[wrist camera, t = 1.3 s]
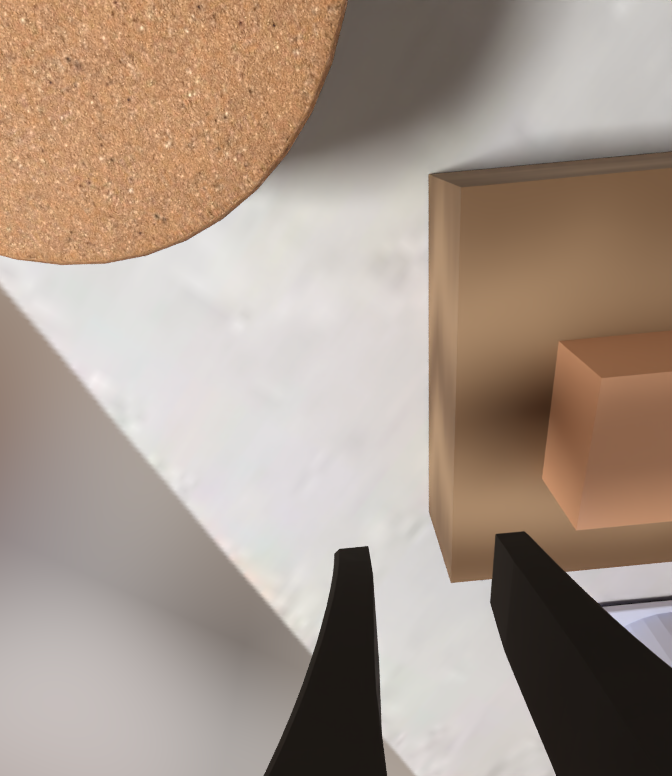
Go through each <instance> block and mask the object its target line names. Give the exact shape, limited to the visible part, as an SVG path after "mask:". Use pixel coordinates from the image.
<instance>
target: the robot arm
mask: <svg viewBox="0 0 672 776" xmlns="http://www.w3.org/2000/svg"><path fill="white" fill-rule="evenodd" d="M490 603H491V607H492V610H493V614H494V617H495V621H496V624H497V628H498V631H499V634H500V638H501V641H502V644H503V647H504V651H505V653H506V656H507V658H508V661H509V663H510V666H511V668H512V671H513V673H514V675H515V678H516V680H517V683H518V685H519V687H520V690H521V692H522V695H523V697H524V699H525V702H526V704H527V707H528V709H529V711H530V714H531V716H532V719H533V721H534V723H535V726H536V728H537V730H538V733H539V735H540V738H541V740H542V742H543V745H544V747H545V750H546V752H547V754H548V757H549V759H550V761H551V764H552V766H553V769H554V771H555V774H556V776H672V600H669V601H658V602H648V603H638V604H627V605H617V606H607V607H601V606H600V605H599V604H598V603H597V602H596V601H595V600H594V599H593V598H592V597H591V596H590V595H588V594H587V593H586V592H585V591H584V590H583V589H582V588H581V587H580V586H579V585H578V584H577V583H576V582H575V581H574V580H573V579H572V578H571V577H570V576H569V575H568V574H567V573H566V572H565V571H564V570H563V569H562V568H561V567H560V566H559V565H558V564H557V563H556V562H555V561H554V560H553V559H552V558H551V557H550V556H549V555H548V554H547V553H546V552H545V551H544V550H543V549H542V548H541V547H540V546H539V545H538V544H537V543H536V542H535V541H534V540H533V539H532V538H531V537H530V536H529V535H528V534H527V533H526V532H525V531H521V532H510V533H500V534H495V546H494V560H493V573H492V586H491V599H490ZM264 776H387V771H386V763H385V756H384V748H383V740H382V727H381V700H380V674H379V655H378V641H377V626H376V612H375V597H374V583H373V572H372V566H371V560H370V554H369V548H368V546H365V547H355V548H344V549H339V550H338V551H337V552H336V553H335V554H334V569H333V577H332V583H331V589H330V593H329V598H328V602H327V607H326V611H325V614H324V618H323V622H322V625H321V629H320V633H319V636H318V640H317V643H316V646H315V649H314V652H313V655H312V658H311V662H310V664H309V667H308V670H307V673H306V676H305V679H304V682H303V685H302V687H301V690H300V693H299V695H298V698H297V700H296V703H295V706H294V708H293V711H292V713H291V716H290V718H289V720H288V723H287V725H286V728H285V730H284V732H283V735H282V737H281V739H280V742H279V744H278V746H277V748H276V750H275V752H274V755H273V757H272V759H271V761H270V763H269V765H268V768H267V770H266V772H265V774H264Z"/></svg>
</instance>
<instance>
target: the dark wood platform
mask: <svg viewBox="0 0 672 776" xmlns="http://www.w3.org/2000/svg"><path fill="white" fill-rule="evenodd" d="M670 330H672V152H661V153H651V154H640V155H629V156H619V157H608V158H597V159H587V160H576V161H565V162H555V163H544V164H533V165H523V166H512V167H501V168H491V169H480V170H469V171H459V172H448V173H437V174H429V513H430V517H431V520H432V523H433V526H434V530H435V533H436V536H437V539H438V542H439V546H440V549H441V552H442V555H443V559H444V562H445V565H446V568H447V571H448V575H449V578H450V581H451V583H455V582H465V581H476V580H486V579H492V573H493V560H494V546H495V534H500V533H510V532H521V531H525V532H526V533H527V534H528V535H529V536H530V537H531V538H532V539H533V540H534V541H535V542H536V543H537V544H538V545H539V546H540V547H541V548H542V549H543V550H544V551H545V552H546V553H547V554H548V555H549V556H550V557H551V558H552V559H553V560H554V561H555V562H556V563H557V564H558V565H559V566H560V567H561V568H562V569H563V570H564V571H565V572H569V571H579V570H590V569H600V568H610V567H621V566H631V565H641V564H652V563H662V562H672V521H669V522H659V523H649V524H638V525H628V526H618V527H607V528H597V529H586V530H575V528H574V527H573V525H572V523H571V522H570V520H569V519H568V517H567V516H566V514H565V513H564V511H563V510H562V508H561V507H560V505H559V504H558V502H557V501H556V499H555V498H554V496H553V495H552V493H551V492H550V490H549V489H548V487H547V486H546V484H545V483H544V481H543V480H542V475H543V466H544V458H545V450H546V442H547V434H548V425H549V417H550V409H551V401H552V392H553V384H554V376H555V368H556V360H557V351H558V343H559V341H565V340H576V339H586V338H597V337H607V336H618V335H628V334H639V333H649V332H660V331H670Z"/></svg>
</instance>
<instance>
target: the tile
mask: <svg viewBox="0 0 672 776" xmlns="http://www.w3.org/2000/svg"><path fill="white" fill-rule="evenodd" d="M542 480H543V481H544V483H545V484H546V486H547V487H548V489H549V490H550V492H551V493H552V495H553V496H554V498H555V499H556V501H557V502H558V504H559V505H560V507H561V508H562V510H563V511H564V513H565V514H566V516H567V517H568V519H569V520H570V522H571V523H572V525H573V527H574V528H575V530H586V529H597V528H607V527H618V526H628V525H638V524H649V523H659V522H669V521H672V330H670V331H660V332H649V333H639V334H628V335H618V336H607V337H597V338H586V339H576V340H565V341H559V343H558V351H557V360H556V368H555V376H554V384H553V392H552V401H551V409H550V417H549V425H548V434H547V442H546V450H545V458H544V466H543V475H542Z"/></svg>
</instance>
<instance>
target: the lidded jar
mask: <svg viewBox="0 0 672 776" xmlns="http://www.w3.org/2000/svg"><path fill="white" fill-rule="evenodd" d="M347 2H348V0H0V255H1V256H5V257H9V258H13V259H17V260H25V261H34V262H42V263H50V264H58V265H72V264H105V263H110V262H115V261H121V260H126V259H131V258H136V257H141V256H146V255H149V254H152V253H154V252H157V251H160V250H162V249H165V248H168V247H170V246H173V245H176V244H178V243H181V242H184V241H186V240H188V239H190V238H191V237H193V236H195V235H196V234H198V233H200V232H202V231H203V230H205V229H207V228H208V227H210V226H212V225H213V224H215V223H217V222H218V221H220V220H222V219H223V218H224V217H226V216H227V215H228V214H229V213H230V212H231V211H233V210H234V209H235V208H236V207H237V206H239V205H240V204H241V203H242V202H243V201H244V200H246V199H247V198H248V197H249V196H250V195H251V194H253V193H254V192H255V191H256V190H257V189H258V188H259V187H260V186H261V185H262V183H263V182H264V181H265V180H266V179H267V177H268V176H269V175H270V174H271V173H272V171H273V170H274V169H275V168H276V167H277V166H278V164H279V163H280V162H281V161H282V160H283V158H284V157H285V156H286V155H287V153H288V152H289V150H290V148H291V147H292V145H293V143H294V142H295V140H296V138H297V137H298V135H299V133H300V132H301V130H302V128H303V127H304V125H305V123H306V122H307V120H308V118H309V117H310V115H311V113H312V111H313V109H314V106H315V104H316V101H317V99H318V97H319V94H320V92H321V89H322V87H323V84H324V82H325V79H326V77H327V75H328V72H329V70H330V67H331V65H332V62H333V58H334V54H335V50H336V46H337V42H338V38H339V34H340V31H341V27H342V23H343V19H344V15H345V11H346V7H347Z"/></svg>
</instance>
